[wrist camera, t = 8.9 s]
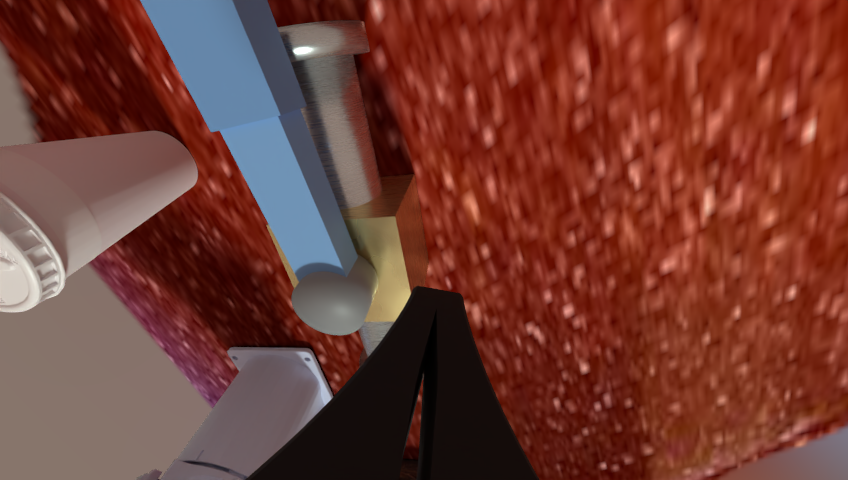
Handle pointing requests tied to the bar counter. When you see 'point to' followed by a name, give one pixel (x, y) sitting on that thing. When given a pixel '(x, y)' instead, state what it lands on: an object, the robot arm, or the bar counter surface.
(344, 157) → the valve pipe
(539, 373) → the bar counter surface
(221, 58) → the lever
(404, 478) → the pastry
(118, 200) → the smoothie
